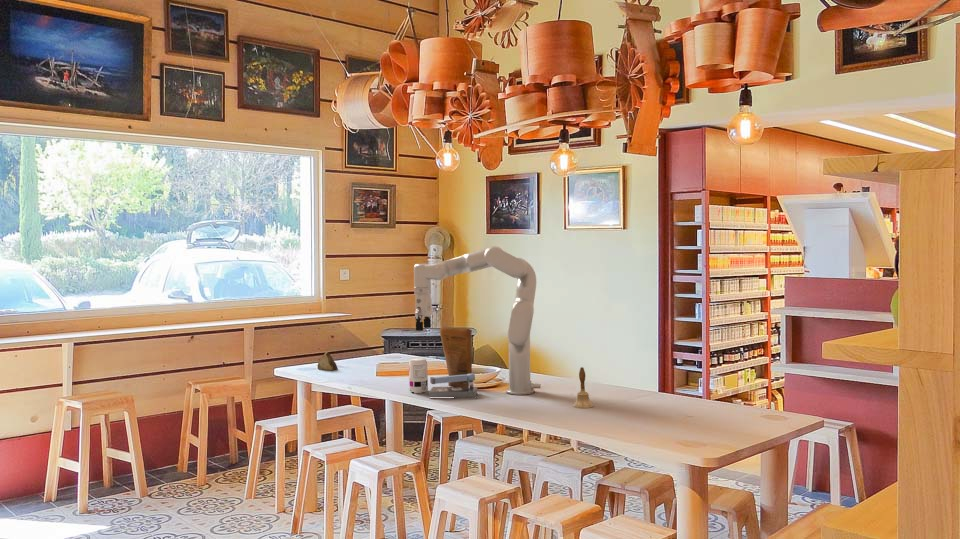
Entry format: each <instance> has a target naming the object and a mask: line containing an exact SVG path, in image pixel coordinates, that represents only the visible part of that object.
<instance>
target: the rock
mask: <svg viewBox="0 0 960 539" xmlns="http://www.w3.org/2000/svg"><path fill="white" fill-rule="evenodd" d="M316 365H317V369H318V370H324V371H336V370H339V368H338V365H337V363H336V361H335V360H334V358H333V356H332V355H331V354H330V353H329V352H328V351H325V353H324V354H323V355H322V356H321V357H320V358H319V360H318V363H317V364H316Z"/></svg>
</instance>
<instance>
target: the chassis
mask: <svg viewBox="0 0 960 539" xmlns="http://www.w3.org/2000/svg"><path fill="white" fill-rule="evenodd" d="M428 391H429V392H428V393H429V394H428V397H454V398H475V397H477V396H478V386H474V381H469V387H453V386H432V387H431V389H430V390H428ZM475 399H476V398H475Z"/></svg>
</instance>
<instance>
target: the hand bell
mask: <svg viewBox="0 0 960 539" xmlns="http://www.w3.org/2000/svg"><path fill="white" fill-rule="evenodd" d="M578 378H579V381H580V382H579V383H580V391H579V392H577V396H576V401H575V402H574V403H573V404H572V407H573V408H576V409H590V408H593V407H594V403H592V401H591V400H590V395H589V392H587V391H586V389H585V381H586V371H585V368H584V367H582V366H581V367H580V369H579V372H578Z"/></svg>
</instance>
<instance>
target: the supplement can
mask: <svg viewBox="0 0 960 539" xmlns="http://www.w3.org/2000/svg"><path fill="white" fill-rule="evenodd" d="M408 376H409V377H408V378H409V380H408V382H409V392H410V393H411V392H414V393H413V394H416V393H419V394H423V393H422V392H425V393H427V392H428V391H429V387H428V386H429V383H428V381H429V378H428V360H427V358H425V357H413V358H410V360H409V362H408ZM426 391H427V392H426Z"/></svg>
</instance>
